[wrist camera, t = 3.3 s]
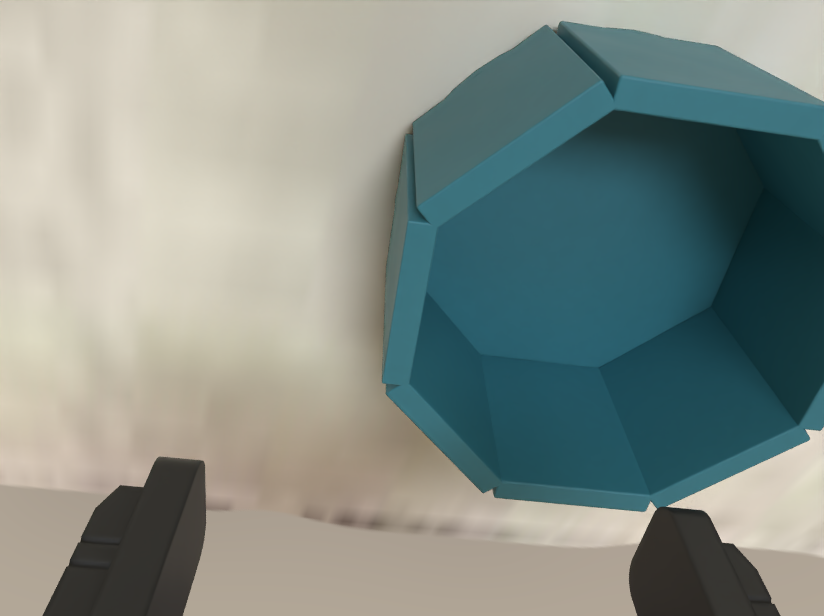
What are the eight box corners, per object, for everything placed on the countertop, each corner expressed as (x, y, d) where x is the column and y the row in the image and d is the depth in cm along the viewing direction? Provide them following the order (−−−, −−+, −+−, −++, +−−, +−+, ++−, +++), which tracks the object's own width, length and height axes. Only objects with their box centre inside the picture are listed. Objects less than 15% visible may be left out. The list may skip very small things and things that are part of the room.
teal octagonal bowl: (373, 349, 29) (365, 486, 22) (424, -5, 21) (434, 46, 15) (686, 384, 30) (764, 524, 23) (832, 61, 23) (1003, 133, 16)
